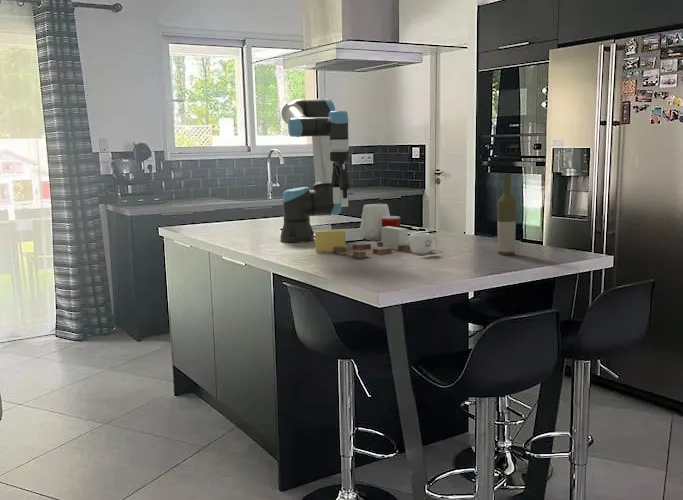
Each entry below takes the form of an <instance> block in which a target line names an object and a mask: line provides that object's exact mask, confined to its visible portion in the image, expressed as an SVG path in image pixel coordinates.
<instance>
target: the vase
mask: <svg viewBox="0 0 683 500" xmlns="http://www.w3.org/2000/svg"><path fill="white" fill-rule="evenodd" d="M384 216H391V213H390V209H389V205H388V204H387V203H371V204H369V203H368V204H364V205H363V207H362V213H361V221H360V229H359V233H360V235H361V237H362V239H364V240H366V241H381V227H382V217H384Z"/></svg>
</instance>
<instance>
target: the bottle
mask: <svg viewBox="0 0 683 500" xmlns="http://www.w3.org/2000/svg"><path fill="white" fill-rule="evenodd" d="M502 174H503V176H502V178H503V190H502V191H503V193H502V195H501V196H500V197H499V198H498V200H497V203H496V204H497V205H496V210H497V211H496V214H497V215H496V216H497V217H496V218H497V219H496V220H497V225H496V227H497V233H496V234H497V254H499V255H501V254H502V255H503V256H511V255H510V254H512V255H514V254H515V251H516V231H517V229H516V228H517V227H516V226H517V200H516V198H514V196H513V195H512V193H511V185H512V184H511V181H512V179H511V178H512V174H511V172H510V173H509V172H505V173H502Z"/></svg>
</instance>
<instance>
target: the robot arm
mask: <svg viewBox="0 0 683 500" xmlns="http://www.w3.org/2000/svg"><path fill="white" fill-rule="evenodd" d="M281 119H282V121H284V123H285V124H286V125H287V131H288V136H289V137H292V138H294V137H295V138H301V137H302V138H303V137H311V142H312V143H311V144H312V155H313V156H312V157H313V165H314V166H313V168H314V178H315V179H314V180H315V183H314V184H313V185H312V189H310V188H309V187H308V186H302V187H300V186H299V187H295V188H290V189H286V190H284V191H283V193H282V206H283V225H282V229H281V233H280V242H284V243H306V242H311V241H314V240H315V232H314V230H313V227H312V224H311V221H310V220H311V217H321V216H323V217H325V216H330V217H331V216H336V215H339V214H340V213H341V211H342V208H345V207H349V189H350V181H349V174H348V164H347V163H345V162H348V161H349V160H350V152H349V150H350V145H349V141H350V140H349V121H350V119H349V114H348V111H346V110H336V107H335V103H334V102H333V100H332V99H331V98H298V99H293V100H290V101H288V102H287V103H286V104H285V105H284V106H283V107H282V109H281Z"/></svg>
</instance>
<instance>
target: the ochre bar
mask: <svg viewBox="0 0 683 500" xmlns="http://www.w3.org/2000/svg"><path fill="white" fill-rule="evenodd" d="M314 240H315V241H314V243H315V244H314V245H315V252H316V253H320V252H321V253H323V252H322V251H326V252H333V247H336V246H342V247H345V250H347V248H346V247H347V246H346V230H345V229H336V230H335V229H333V230H332V229H331V230H327V229H326V230H314Z"/></svg>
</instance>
